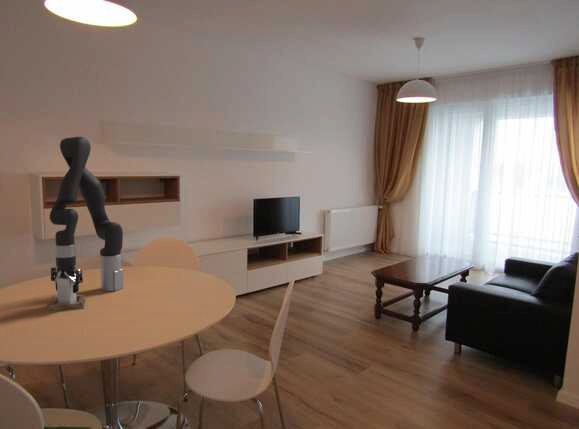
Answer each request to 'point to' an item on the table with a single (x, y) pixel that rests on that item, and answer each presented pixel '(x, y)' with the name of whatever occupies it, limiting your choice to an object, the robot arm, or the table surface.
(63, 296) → the skincare box
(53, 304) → the tray
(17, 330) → the table surface
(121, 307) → the table surface
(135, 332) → the table surface
